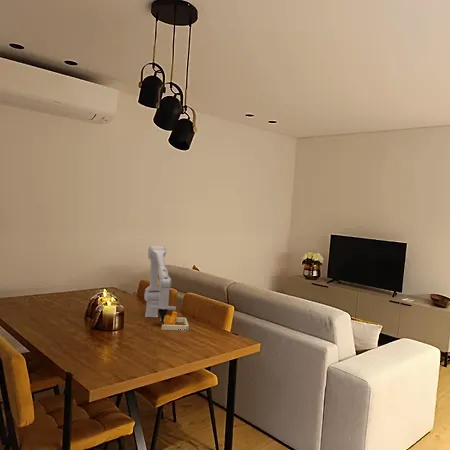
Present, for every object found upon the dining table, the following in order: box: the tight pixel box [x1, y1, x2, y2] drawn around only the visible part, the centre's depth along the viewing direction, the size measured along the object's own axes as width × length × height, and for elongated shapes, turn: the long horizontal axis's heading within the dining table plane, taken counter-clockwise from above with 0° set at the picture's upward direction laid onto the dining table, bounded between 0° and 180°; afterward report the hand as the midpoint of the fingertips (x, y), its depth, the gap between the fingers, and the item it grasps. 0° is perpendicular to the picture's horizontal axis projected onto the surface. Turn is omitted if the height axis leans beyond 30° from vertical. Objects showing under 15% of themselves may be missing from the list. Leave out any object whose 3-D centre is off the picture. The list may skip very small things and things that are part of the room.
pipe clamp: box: [163, 310, 178, 325], centre depth 252 cm, size 12×4×6 cm, turn 163°
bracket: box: [159, 316, 190, 331], centre depth 251 cm, size 17×15×2 cm
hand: (162, 322), depth 250 cm, fingers closed
